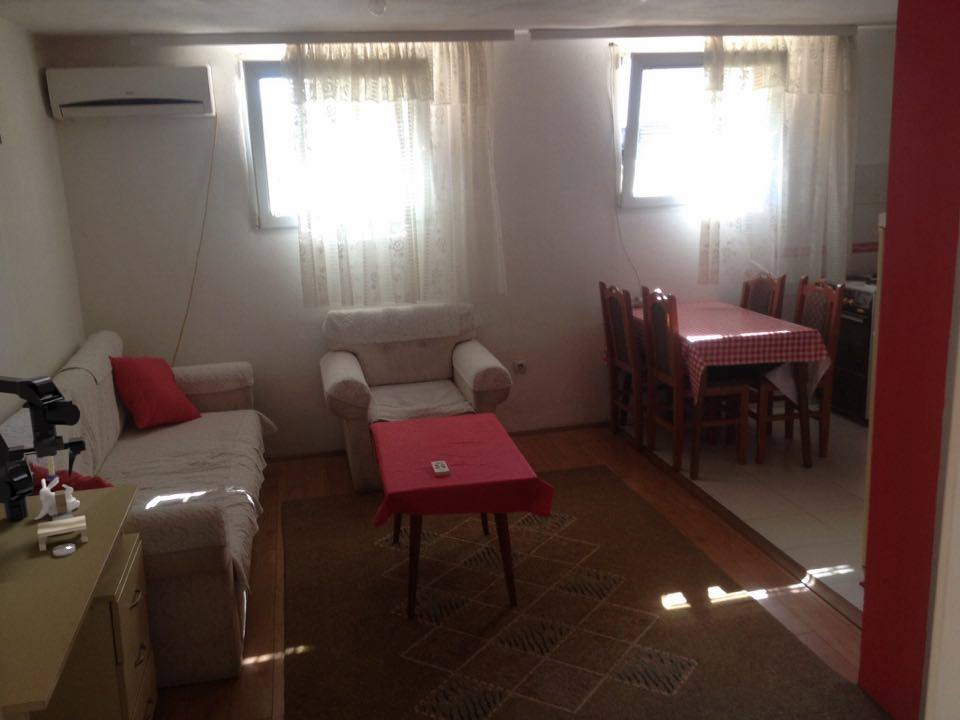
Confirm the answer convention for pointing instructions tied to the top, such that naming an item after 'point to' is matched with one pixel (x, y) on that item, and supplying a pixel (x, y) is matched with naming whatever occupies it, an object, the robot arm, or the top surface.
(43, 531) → the footstool
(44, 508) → the rabbit figurine
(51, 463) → the toy lamp
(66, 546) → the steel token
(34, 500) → the top surface
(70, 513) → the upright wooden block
